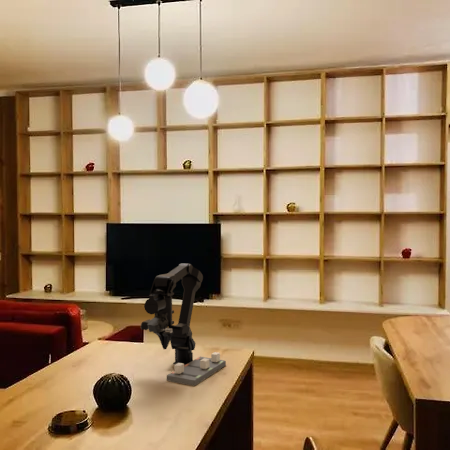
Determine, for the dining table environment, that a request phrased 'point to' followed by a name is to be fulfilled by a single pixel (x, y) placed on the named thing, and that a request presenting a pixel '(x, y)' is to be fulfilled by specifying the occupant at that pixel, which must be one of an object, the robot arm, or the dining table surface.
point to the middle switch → (204, 363)
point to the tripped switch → (179, 368)
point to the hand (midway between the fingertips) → (164, 349)
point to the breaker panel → (196, 372)
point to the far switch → (215, 357)
